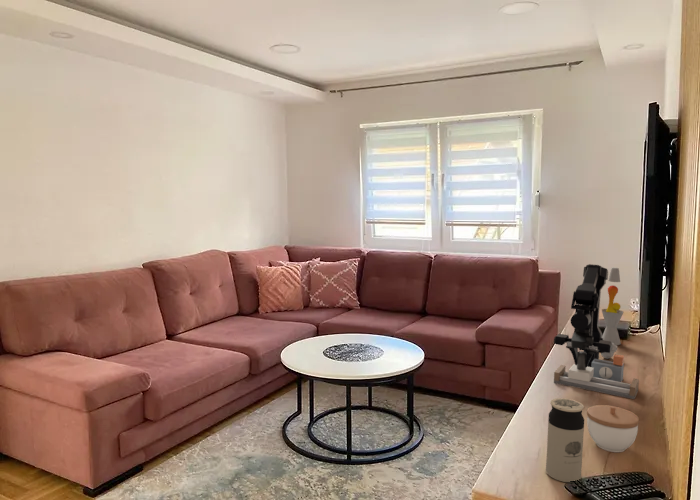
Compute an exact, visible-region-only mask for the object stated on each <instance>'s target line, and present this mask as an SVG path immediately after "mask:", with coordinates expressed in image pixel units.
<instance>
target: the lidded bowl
mask: <svg viewBox="0 0 700 500" xmlns="http://www.w3.org/2000/svg"><path fill="white" fill-rule="evenodd" d="M586 415H587V416H586V424H587V425H586V426H587V431H588V433H589V435H590V438H591V439H592V440H593V442H594V443H595V444H596V446H597V447H598V449H599V448H600V449H602V450H604V451H606V452H609V453H610V452H611V453H624V452H625V451H626V450H627V449H628V448H630V447H631V446H632V445H633V444H634V442H635V441H636V438H637V435H638V432H639V423H640V418H639V416H638V415H637V414H635V413H634V412H632V411H631V410H628V409H626V408H623V407H618V406H614V405H608V404H607V405H606V404H596V405H592V406H589V407H588V408H587V410H586Z"/></svg>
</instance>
